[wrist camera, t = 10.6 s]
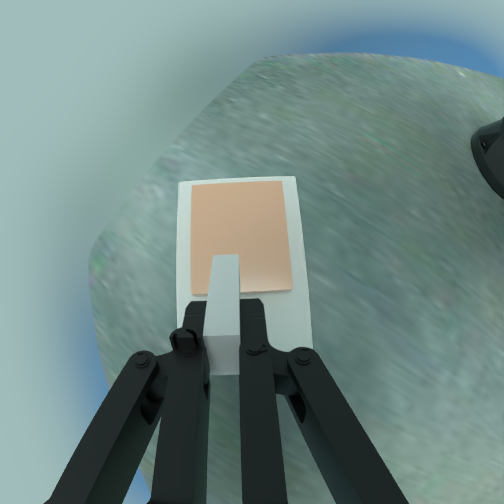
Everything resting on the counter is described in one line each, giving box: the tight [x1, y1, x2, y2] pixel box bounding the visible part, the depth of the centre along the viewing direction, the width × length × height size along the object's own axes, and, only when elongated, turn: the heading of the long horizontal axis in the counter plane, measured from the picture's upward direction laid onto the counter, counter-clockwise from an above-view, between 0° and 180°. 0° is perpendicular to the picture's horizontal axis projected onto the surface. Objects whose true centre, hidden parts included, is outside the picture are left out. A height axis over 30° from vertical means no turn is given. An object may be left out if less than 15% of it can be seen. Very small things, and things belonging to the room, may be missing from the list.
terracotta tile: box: [191, 181, 293, 296], centre depth 31 cm, size 2×10×12 cm
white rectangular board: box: [176, 176, 313, 352], centre depth 31 cm, size 20×14×1 cm
